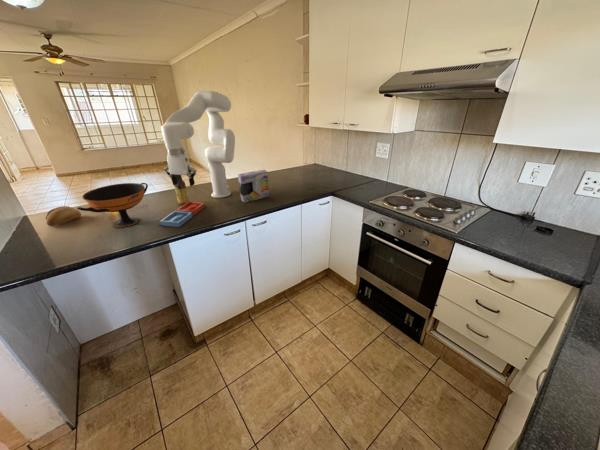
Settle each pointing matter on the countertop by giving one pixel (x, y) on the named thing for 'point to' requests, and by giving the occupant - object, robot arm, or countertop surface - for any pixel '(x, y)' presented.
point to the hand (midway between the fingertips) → (184, 184)
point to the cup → (116, 200)
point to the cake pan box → (253, 185)
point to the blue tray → (180, 222)
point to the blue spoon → (177, 218)
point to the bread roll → (62, 215)
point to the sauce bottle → (181, 191)
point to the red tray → (194, 211)
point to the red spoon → (191, 207)
